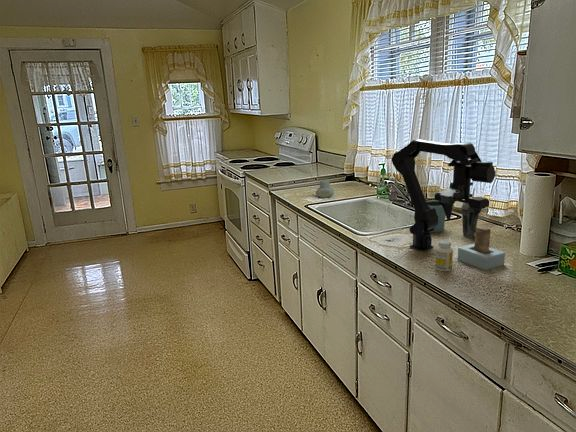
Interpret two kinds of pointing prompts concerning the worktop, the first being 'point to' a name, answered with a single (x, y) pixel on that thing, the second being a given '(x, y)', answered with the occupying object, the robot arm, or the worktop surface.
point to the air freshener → (324, 189)
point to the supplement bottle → (444, 256)
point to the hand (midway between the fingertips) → (459, 222)
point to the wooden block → (482, 240)
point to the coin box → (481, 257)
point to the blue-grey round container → (438, 214)
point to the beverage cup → (468, 230)
